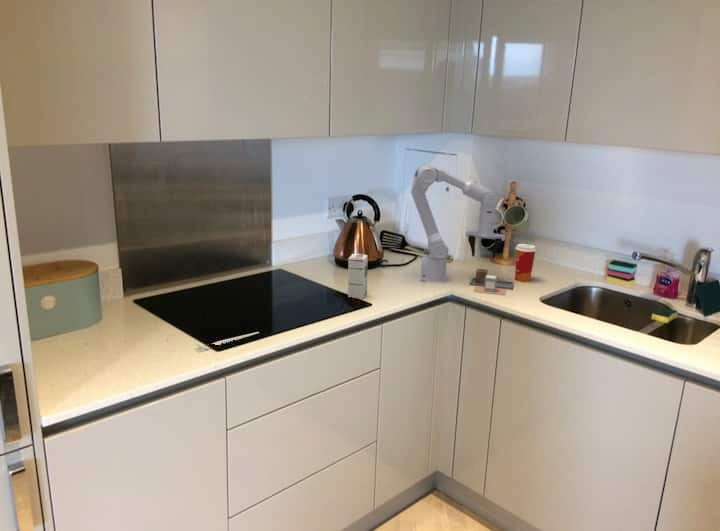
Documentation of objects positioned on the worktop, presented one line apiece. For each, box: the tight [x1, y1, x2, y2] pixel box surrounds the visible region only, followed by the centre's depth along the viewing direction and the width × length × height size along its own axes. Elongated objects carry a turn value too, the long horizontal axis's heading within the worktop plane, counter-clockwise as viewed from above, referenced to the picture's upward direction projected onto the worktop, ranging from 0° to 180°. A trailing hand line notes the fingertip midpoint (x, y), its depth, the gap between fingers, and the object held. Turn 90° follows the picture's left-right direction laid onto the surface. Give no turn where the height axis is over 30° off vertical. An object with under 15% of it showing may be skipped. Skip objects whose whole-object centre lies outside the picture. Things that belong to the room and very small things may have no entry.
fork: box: [195, 331, 260, 351], centre depth 167 cm, size 3×20×2 cm, turn 134°
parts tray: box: [469, 276, 514, 291], centre depth 223 cm, size 16×8×1 cm, turn 74°
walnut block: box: [474, 268, 489, 284], centre depth 224 cm, size 4×4×5 cm
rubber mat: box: [473, 286, 507, 297], centre depth 216 cm, size 11×7×1 cm, turn 74°
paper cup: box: [514, 243, 537, 283], centre depth 228 cm, size 8×8×14 cm
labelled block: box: [484, 274, 498, 292], centre depth 215 cm, size 4×4×5 cm
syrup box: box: [347, 253, 369, 300], centre depth 206 cm, size 6×6×14 cm
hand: (483, 256), depth 227 cm, fingers open, 7 cm apart
